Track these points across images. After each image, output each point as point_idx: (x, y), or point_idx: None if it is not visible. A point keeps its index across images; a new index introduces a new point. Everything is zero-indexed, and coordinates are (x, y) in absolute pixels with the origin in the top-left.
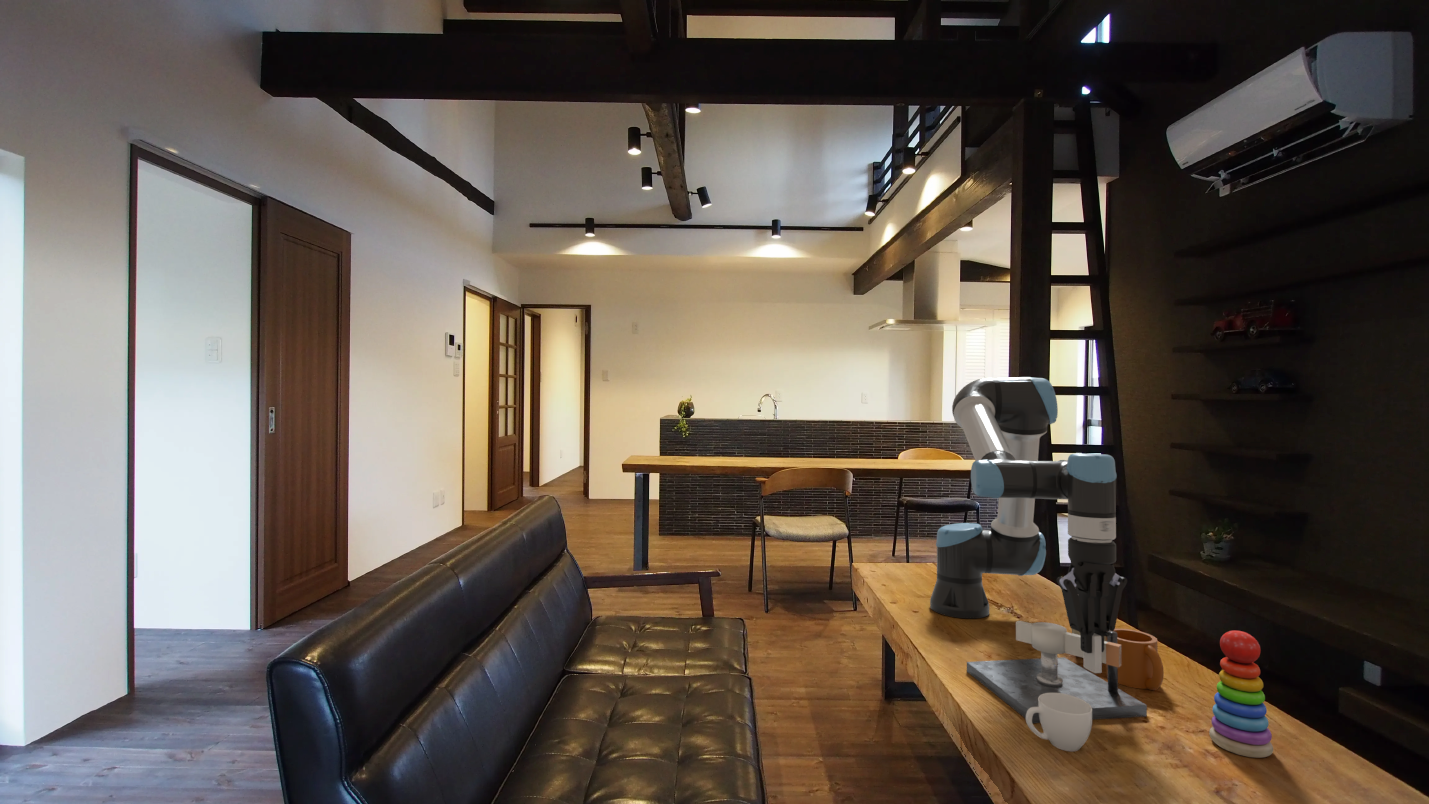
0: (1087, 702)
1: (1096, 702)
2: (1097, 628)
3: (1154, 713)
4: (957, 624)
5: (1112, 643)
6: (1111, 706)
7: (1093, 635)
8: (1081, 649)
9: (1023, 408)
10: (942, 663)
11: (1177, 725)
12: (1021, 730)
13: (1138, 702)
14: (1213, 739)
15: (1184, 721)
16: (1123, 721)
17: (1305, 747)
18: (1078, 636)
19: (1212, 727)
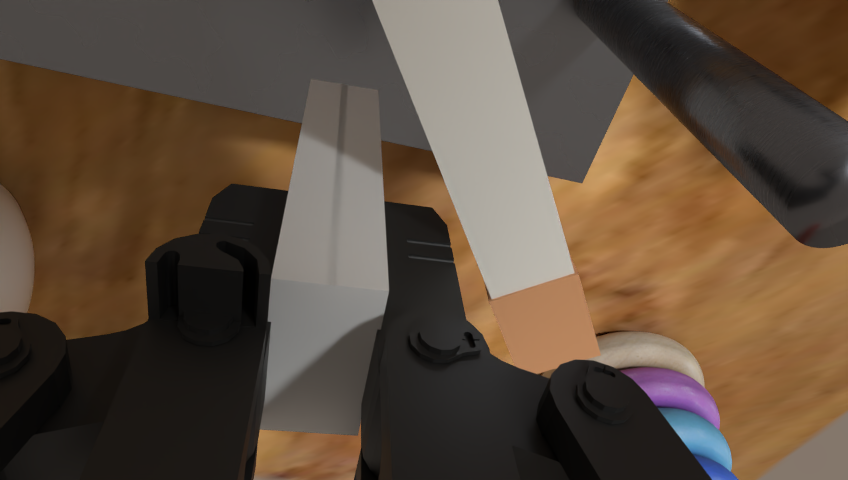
0: (302, 56)
1: (356, 74)
2: (375, 453)
3: (633, 146)
4: None
5: (556, 317)
6: (394, 136)
7: (278, 404)
8: (225, 192)
9: None
10: None
11: (594, 244)
12: None
13: (575, 152)
14: (549, 371)
15: (660, 232)
16: (414, 152)
17: (772, 422)
18: (411, 18)
19: (607, 362)
